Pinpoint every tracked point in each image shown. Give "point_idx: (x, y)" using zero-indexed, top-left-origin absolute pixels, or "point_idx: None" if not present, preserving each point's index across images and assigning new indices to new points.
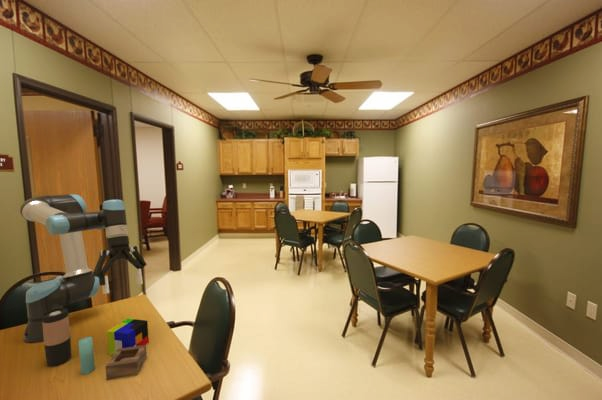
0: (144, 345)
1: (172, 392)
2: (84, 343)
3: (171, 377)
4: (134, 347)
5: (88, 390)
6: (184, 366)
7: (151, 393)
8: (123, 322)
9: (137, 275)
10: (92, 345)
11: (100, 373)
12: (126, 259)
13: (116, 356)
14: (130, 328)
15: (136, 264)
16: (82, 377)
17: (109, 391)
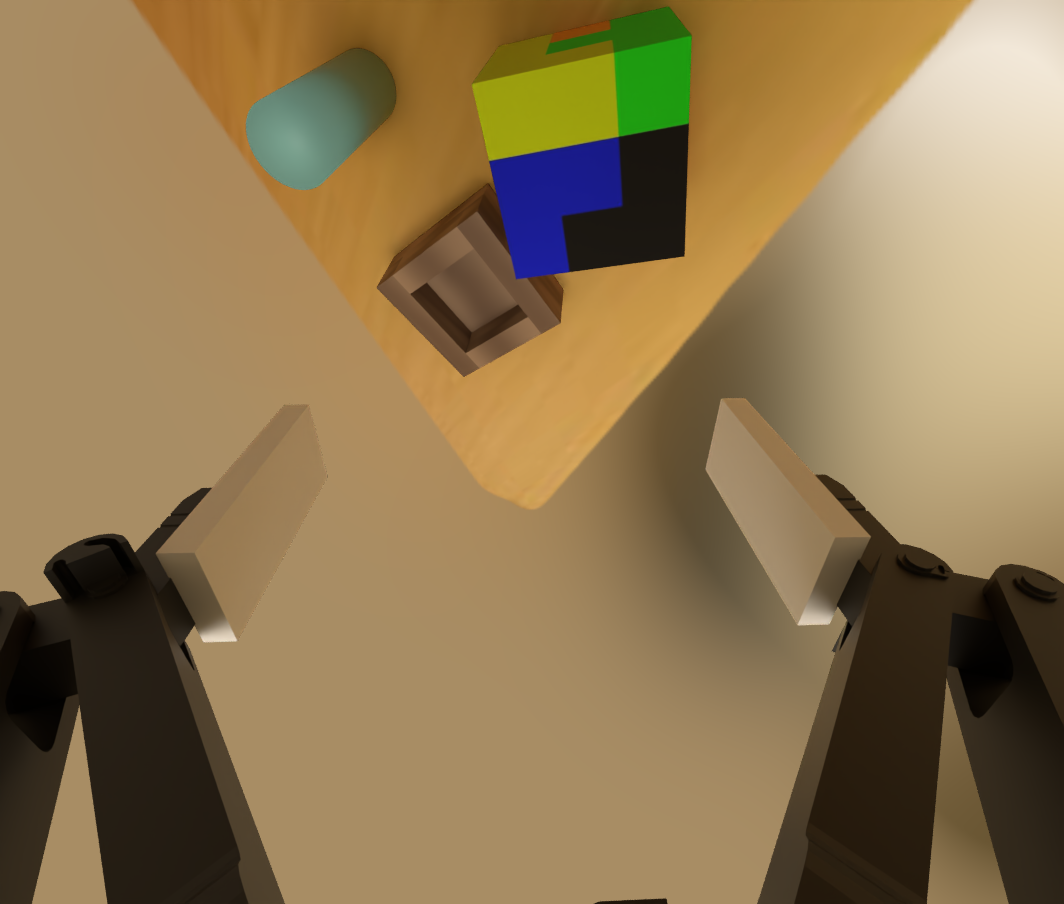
0: (554, 319)
1: (476, 470)
2: (279, 178)
3: (515, 439)
4: (523, 288)
5: (328, 246)
6: (568, 442)
7: (446, 433)
8: (619, 76)
9: (768, 500)
10: (342, 161)
11: (395, 187)
12: (802, 834)
13: (438, 268)
14: (566, 235)
15: (821, 700)
16: None
17: (377, 323)
